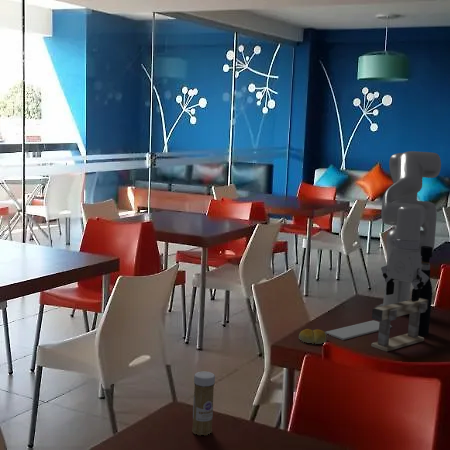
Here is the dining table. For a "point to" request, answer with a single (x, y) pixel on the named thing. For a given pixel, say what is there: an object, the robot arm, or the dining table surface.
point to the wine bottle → (425, 291)
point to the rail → (398, 309)
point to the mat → (355, 330)
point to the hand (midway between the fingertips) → (402, 297)
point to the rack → (402, 340)
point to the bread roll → (313, 336)
